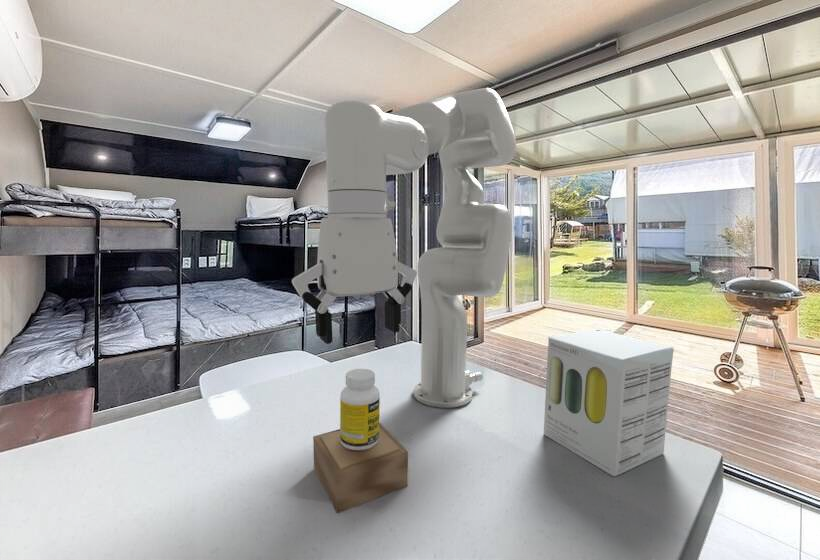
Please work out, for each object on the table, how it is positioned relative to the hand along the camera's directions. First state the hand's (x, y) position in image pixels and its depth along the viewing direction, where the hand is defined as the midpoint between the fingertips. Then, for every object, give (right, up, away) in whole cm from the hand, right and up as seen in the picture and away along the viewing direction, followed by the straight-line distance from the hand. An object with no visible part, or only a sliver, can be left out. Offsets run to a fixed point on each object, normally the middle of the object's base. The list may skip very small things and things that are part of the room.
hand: (360, 335), depth 49 cm
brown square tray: (0, -20, +2) cm, 20 cm away
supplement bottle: (0, -15, +1) cm, 15 cm away
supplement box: (+38, -20, +11) cm, 45 cm away
